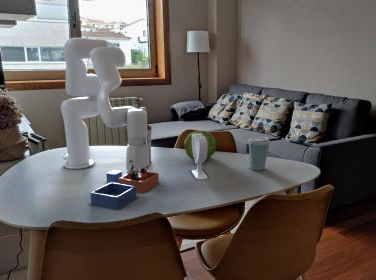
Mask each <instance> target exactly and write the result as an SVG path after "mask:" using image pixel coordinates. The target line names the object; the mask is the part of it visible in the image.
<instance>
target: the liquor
mask: <svg viewBox="0 0 376 280" xmlns="http://www.w3.org/2000/svg"><path fill="white" fill-rule="evenodd" d="M139 109H143V110H145V111H146V112H147V107H146V106H139ZM147 134H148V148H149V158H150V161H149V162H150V164H149V166H148V167H150V166H151V165H152V164H153V161H152V126H151V125H150V124H148V123H147Z"/></svg>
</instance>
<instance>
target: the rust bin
mask: <svg viewBox="0 0 376 280" xmlns="http://www.w3.org/2000/svg"><path fill="white" fill-rule="evenodd" d="M134 173H135V174H136V172H134ZM139 173H141V172H140V170H139ZM146 174H147V180H145V181H136V180H132V178H131V176H130V175H129V174H127V173H126V174H124V175H122V177H120V178H119V183H118V184H124V185H130V186H136V193H141V194H145V193H146V192H148V191H150V190H151V189H152V188H155V187H156V186H157V185H159V184H160V179H159V178H160V177H159V173H158V172H151V171H148V172H147V173H146Z"/></svg>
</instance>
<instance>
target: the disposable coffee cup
mask: <svg viewBox="0 0 376 280" xmlns="http://www.w3.org/2000/svg"><path fill="white" fill-rule="evenodd" d="M247 144H248V145H247V146H248V153H249V155H248V156H249V165H250V169H251V170H254V171H263V170H264V169H265V167H266V162H267V158H268V153H269V148H270V144H271V140H270V137H267V136H254V137H249V139H248V140H247Z"/></svg>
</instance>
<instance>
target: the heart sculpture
mask: <svg viewBox="0 0 376 280" xmlns="http://www.w3.org/2000/svg"><path fill="white" fill-rule="evenodd" d="M192 150H193V156H194V159H193V160H194V163H195V164H196V169H192V170H191V173H192V175H193V176H194V177H195V178H196V179H197V180H207V179H208V176H207V175H206V173H205V172H204V171H203V170H202V169H203V168H202V167H203V165H202V164H204V163H205V161H206V160H207V159H206V158H207V151H208V143H207V140H206V137H205V136H203V135H202V134H201V133H199V134H192Z"/></svg>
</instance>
